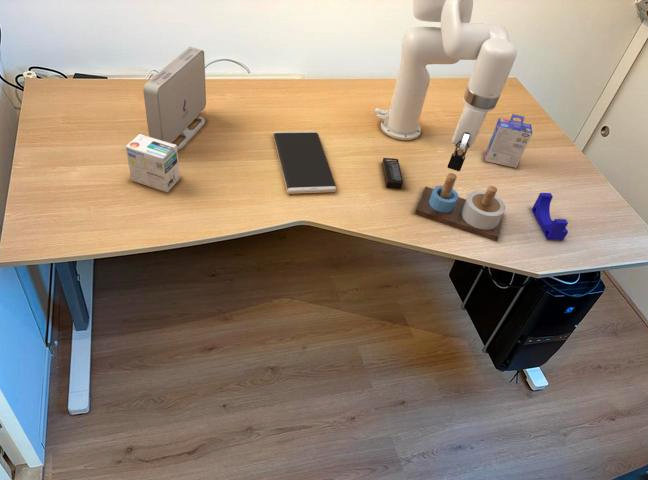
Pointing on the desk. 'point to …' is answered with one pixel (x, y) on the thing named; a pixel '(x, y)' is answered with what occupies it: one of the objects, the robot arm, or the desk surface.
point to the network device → (176, 97)
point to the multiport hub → (392, 173)
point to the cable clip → (549, 218)
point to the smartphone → (303, 163)
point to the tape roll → (443, 200)
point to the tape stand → (467, 210)
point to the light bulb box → (153, 162)
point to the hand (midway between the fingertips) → (457, 158)
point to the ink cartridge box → (508, 141)
